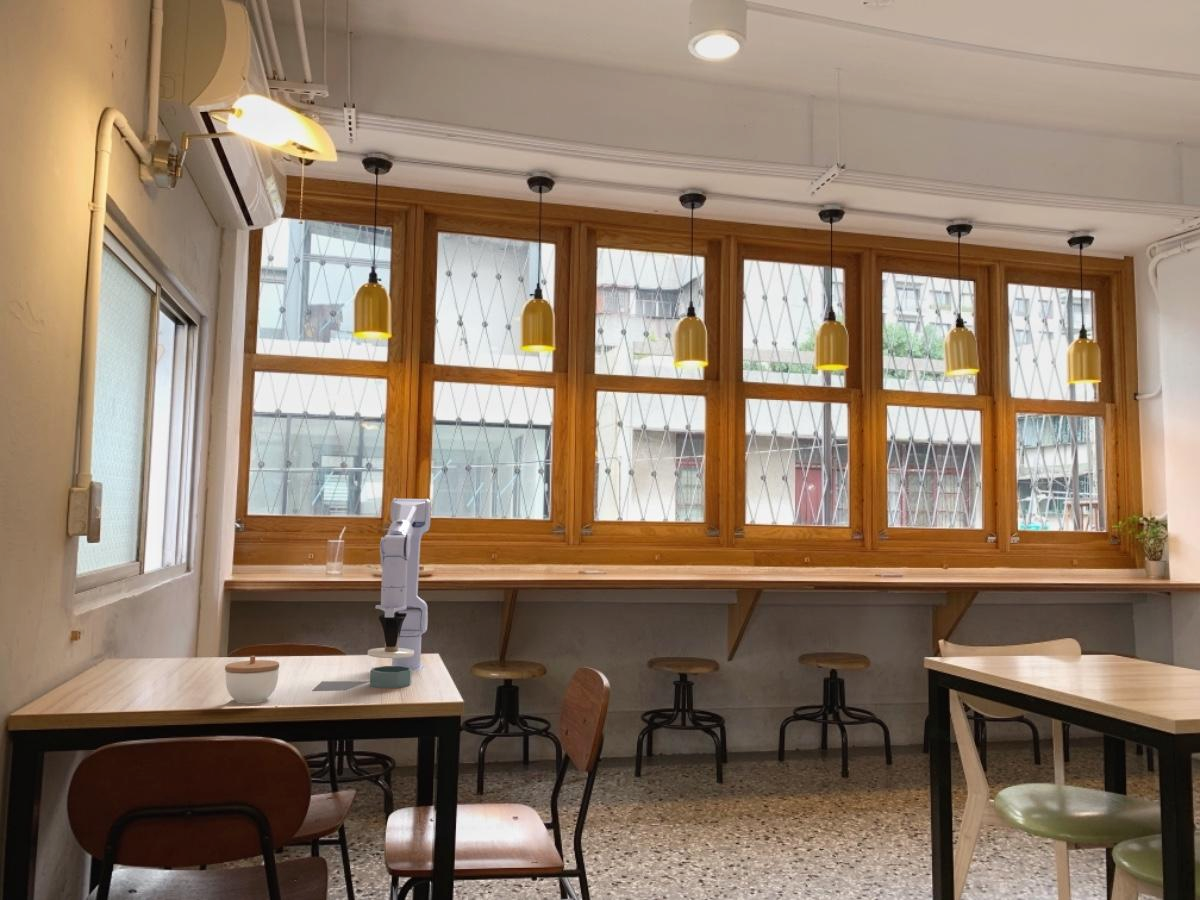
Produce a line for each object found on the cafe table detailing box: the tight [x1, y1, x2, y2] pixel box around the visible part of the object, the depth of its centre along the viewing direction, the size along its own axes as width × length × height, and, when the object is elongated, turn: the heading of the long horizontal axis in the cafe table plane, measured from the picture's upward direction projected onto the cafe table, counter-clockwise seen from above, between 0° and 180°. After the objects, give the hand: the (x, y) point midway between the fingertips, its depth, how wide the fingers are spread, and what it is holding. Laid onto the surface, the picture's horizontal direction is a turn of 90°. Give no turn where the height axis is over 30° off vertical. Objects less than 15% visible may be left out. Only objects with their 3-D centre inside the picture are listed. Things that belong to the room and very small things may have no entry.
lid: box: [367, 634, 414, 659], centre depth 212 cm, size 10×10×5 cm
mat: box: [311, 680, 370, 692], centre depth 209 cm, size 11×11×1 cm
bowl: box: [369, 665, 413, 689], centre depth 212 cm, size 9×9×4 cm
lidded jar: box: [224, 655, 280, 704], centre depth 193 cm, size 11×11×9 cm
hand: (392, 645), depth 212 cm, fingers closed on lid, 3 cm apart
